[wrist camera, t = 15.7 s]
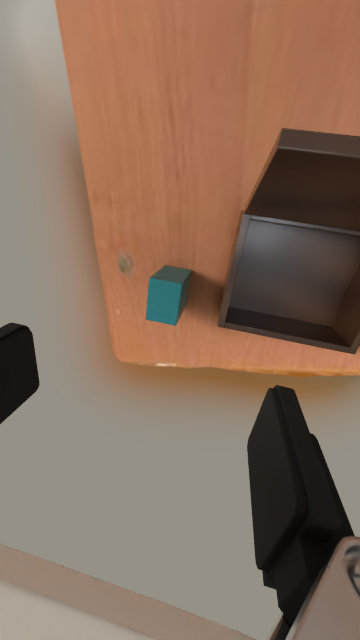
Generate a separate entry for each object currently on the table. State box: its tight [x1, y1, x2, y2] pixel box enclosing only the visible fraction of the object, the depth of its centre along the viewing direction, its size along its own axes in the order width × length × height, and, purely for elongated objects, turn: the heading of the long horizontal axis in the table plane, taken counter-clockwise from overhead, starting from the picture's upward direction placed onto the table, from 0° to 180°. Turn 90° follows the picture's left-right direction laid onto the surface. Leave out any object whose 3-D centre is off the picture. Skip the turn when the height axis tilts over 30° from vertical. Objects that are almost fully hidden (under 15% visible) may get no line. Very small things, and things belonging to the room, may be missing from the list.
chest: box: [218, 210, 360, 354], centre depth 30 cm, size 14×17×7 cm
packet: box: [146, 266, 191, 326], centre depth 33 cm, size 6×4×8 cm
